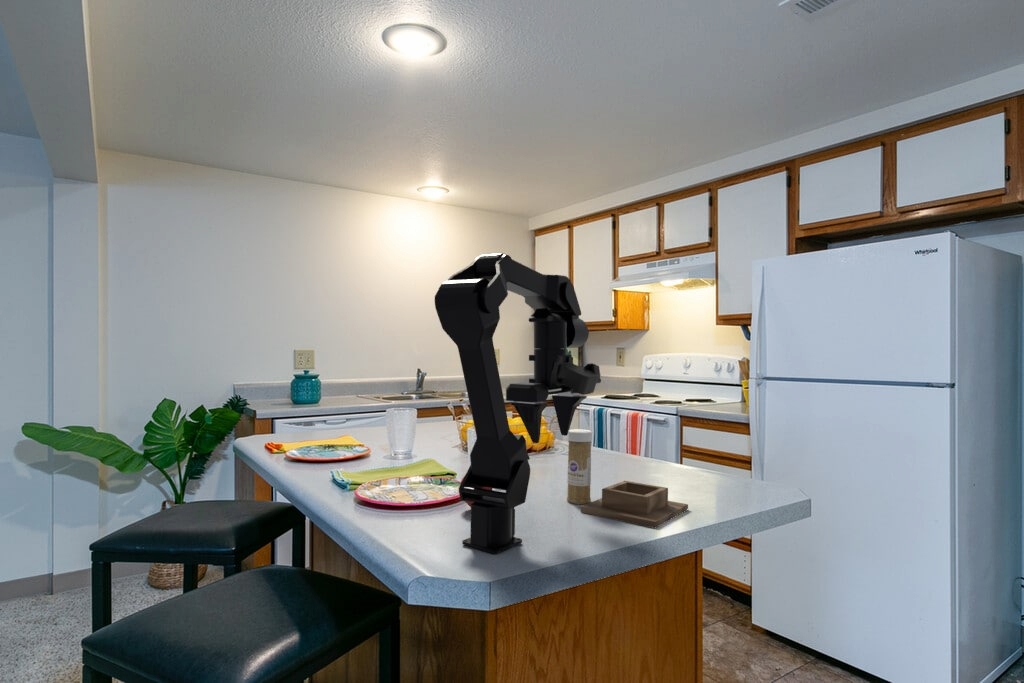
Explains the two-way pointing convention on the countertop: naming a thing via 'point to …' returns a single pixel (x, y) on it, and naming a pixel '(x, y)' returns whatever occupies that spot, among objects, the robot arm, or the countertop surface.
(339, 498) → the countertop surface
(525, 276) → the robot arm
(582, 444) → the sprinkles bottle
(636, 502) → the walnut collar holder
